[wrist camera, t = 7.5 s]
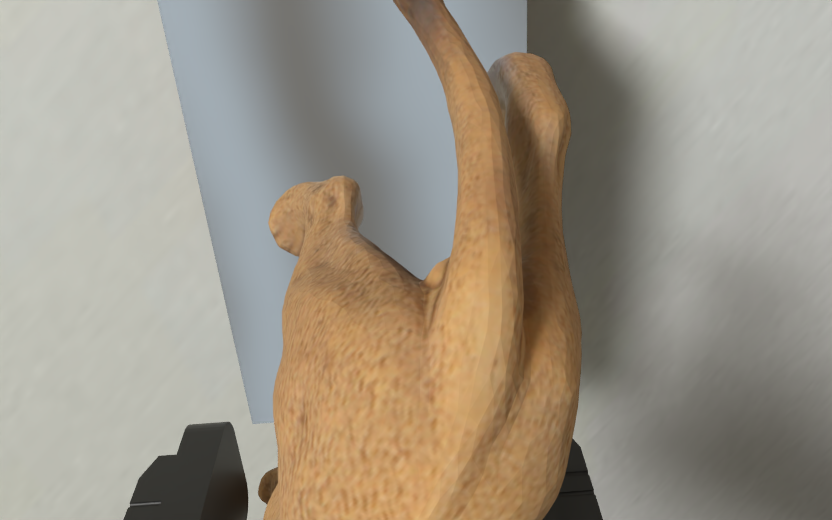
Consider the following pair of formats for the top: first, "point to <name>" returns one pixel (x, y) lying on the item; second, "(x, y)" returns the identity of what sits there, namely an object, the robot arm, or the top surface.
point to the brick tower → (317, 136)
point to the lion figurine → (435, 322)
